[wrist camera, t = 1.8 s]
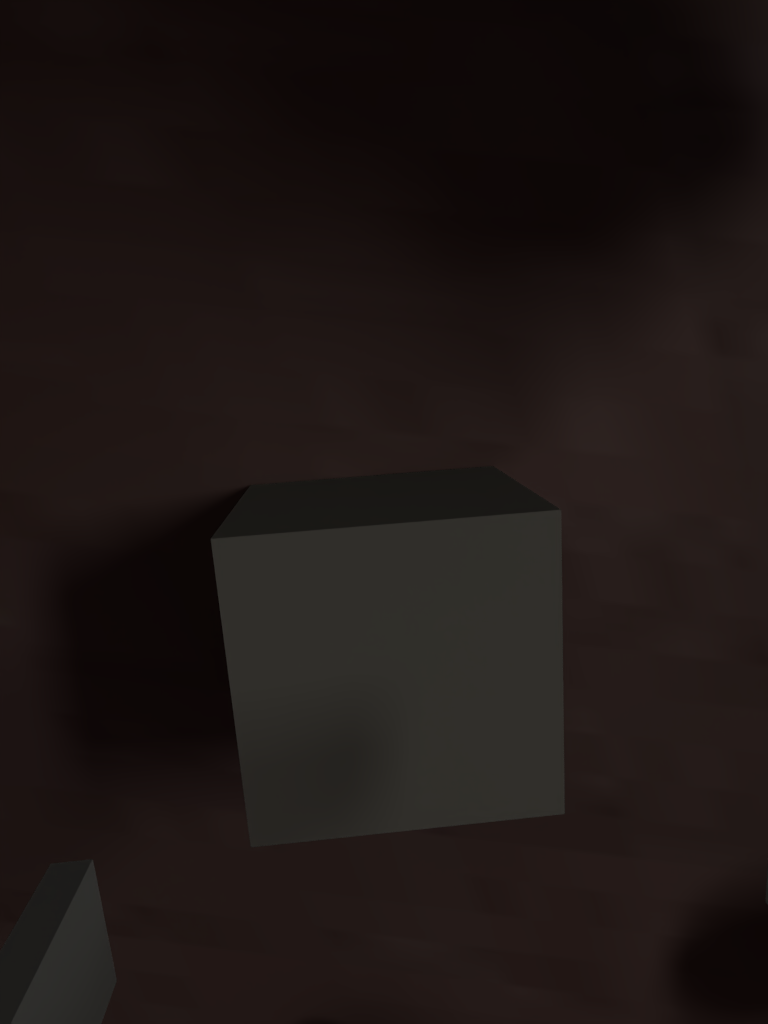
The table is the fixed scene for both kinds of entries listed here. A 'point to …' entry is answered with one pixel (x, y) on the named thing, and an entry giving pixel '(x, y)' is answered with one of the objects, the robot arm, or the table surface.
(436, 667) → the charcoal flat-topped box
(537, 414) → the table surface
